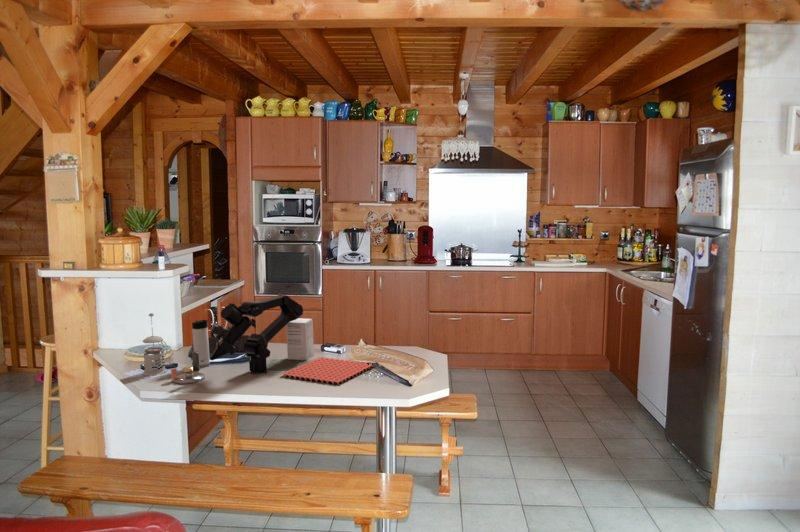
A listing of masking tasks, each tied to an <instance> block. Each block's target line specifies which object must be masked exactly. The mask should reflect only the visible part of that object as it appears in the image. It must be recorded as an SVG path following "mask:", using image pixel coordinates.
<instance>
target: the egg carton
mask: <svg viewBox="0 0 800 532" xmlns="http://www.w3.org/2000/svg"><path fill="white" fill-rule="evenodd" d="M357 361H358V360H357ZM357 361H354V360H348V359H346V360H345V359H343V358H342V359H339V358H335V359H334V357H331V358H329V357H324V356H320V357H317V358H315V359H313V360H310V361H307V362H306V363H303V364H301V365H299V366H296V367H293V368H292V369H289V370H285V371H284V372H281V373H280V376H279V377H281V375H283V377H284V379H285V378H287V377H286V376H288V377H289V379H291V378H292V376H293V378H294V380H296V379H297V378H299V380H300V381H301V380H302V378H303V379H304V381H307V379H308V380H310V382H313V380H314V381H315V383H318V380H319V382H321V384H324V383H325V382H326V384H327V385H328V384H329V382H330V383H332V386H333V385H334V383H335V384H337V386H338V387H339V386H340V382H341V385H343V382H345V383H347V379H348V381H350V380H351V379H354V375H355V377H357V376H358V375H359V376H360V375H361V374H364V371H365V372H367V369H368V370H369V369H370V370H371V367H372V363H369V365H368V364H367V363H368V362H364V363H362V362H363V361H358V362H357ZM364 369H365V370H364ZM361 372H362V373H361ZM323 382H324V383H323ZM334 386H335V385H334Z"/></svg>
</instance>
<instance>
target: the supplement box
mask: <svg viewBox="0 0 800 532" xmlns="http://www.w3.org/2000/svg"><path fill="white" fill-rule="evenodd" d="M313 323H314V322H313V318H303V317H301V318H300V317H299V318H298V319H296V320H293V321H290V322H289V323H288V324H286V325H285V327H286V329H285V330H286V346H287V349H286V351H287V360H294V361H296V360H297V361H304V360H305V361H307V360H309V359H310V358H311V357H313V356H314V354H315V353H314V351H315V348H314V347H315V346H314V325H313Z"/></svg>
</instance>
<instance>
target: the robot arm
mask: <svg viewBox="0 0 800 532" xmlns="http://www.w3.org/2000/svg"><path fill="white" fill-rule="evenodd" d="M277 307H279V309H280V315H278V316H277V317H276V318H275V319H274V320H273V321H272V322H271V323H270V324H268V325H267V326H266V327H265V329H263V330H262V332H260V333H259V334H257V333H252V334H251V335H250V336H249V337H248V338H245V342H243V343H244V344H243V351H244V352H245V354H246V357H250V359H249V360H248V361H249V362H248V363H249V364H248V365H249V366H248V367H249V372H250V374H251V373H252V374H261V373H262V374H263V373H267V372H268V367H267V365H268V364H267V359H268V358H270V356H271V351H270V350H269V349H268V346H269V342H270V341H271V340H272V339H274V337H275V336H276V335H277V334H279V332H280V331H282V329H284V327H286V324H288V323H289V322H290V321H293V320H296V319H298V318H300V317H301V318H302V316H303V314H304V307H303V305H302V304H299V303H298V302H297V301H295V300H294V299H292V298H291V297H290V296H289V295H286V294H278V295H275V296H272V297H269V298H265V299H262V300H259V301H255V300H254V301H253V300H250V301H249V300H248V301H244V302H241V305H240V306H237V305H236V304H235V303H233V302H230V303H229V304H228V305H226V306H225V307H223V309H222V310H221V311H220V317H221V318H222V319H223V320H225V321H226V322H227V323H229V324H230V325H229V326H227V327H225V326H224V325H220V324H215V323H213V324H212V325H211V328H210V333H211V334H212V335H215V337H216V338H217V339H216V341H215V343H216V346H215V348H214V350H213V351H212V354H211V355H210V356H209V358H210V361H214V360H217V359H218V358H220V357H221V358H222V357H223V356H225V355H227V354H230V355H231V356H233V354H235V352H236V347H235V346H236V343H237V342H238V341H239V340H240V339H243V336H244V334H245V333H246V332H247V331H248V330H249V328H250V327H251V326H252V327H253V328H256V327H257V324H256V323H257V321H256V319H254V318H256V317H258V316H260V315H262V314H263V313H264V311H267V310H271V309H274V308H277ZM250 317H251V318H250Z"/></svg>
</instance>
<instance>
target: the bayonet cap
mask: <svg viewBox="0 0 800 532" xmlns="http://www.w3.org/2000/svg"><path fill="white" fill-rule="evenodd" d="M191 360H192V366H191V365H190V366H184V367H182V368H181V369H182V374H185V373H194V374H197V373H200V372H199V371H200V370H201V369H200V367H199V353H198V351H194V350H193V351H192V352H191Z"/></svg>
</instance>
